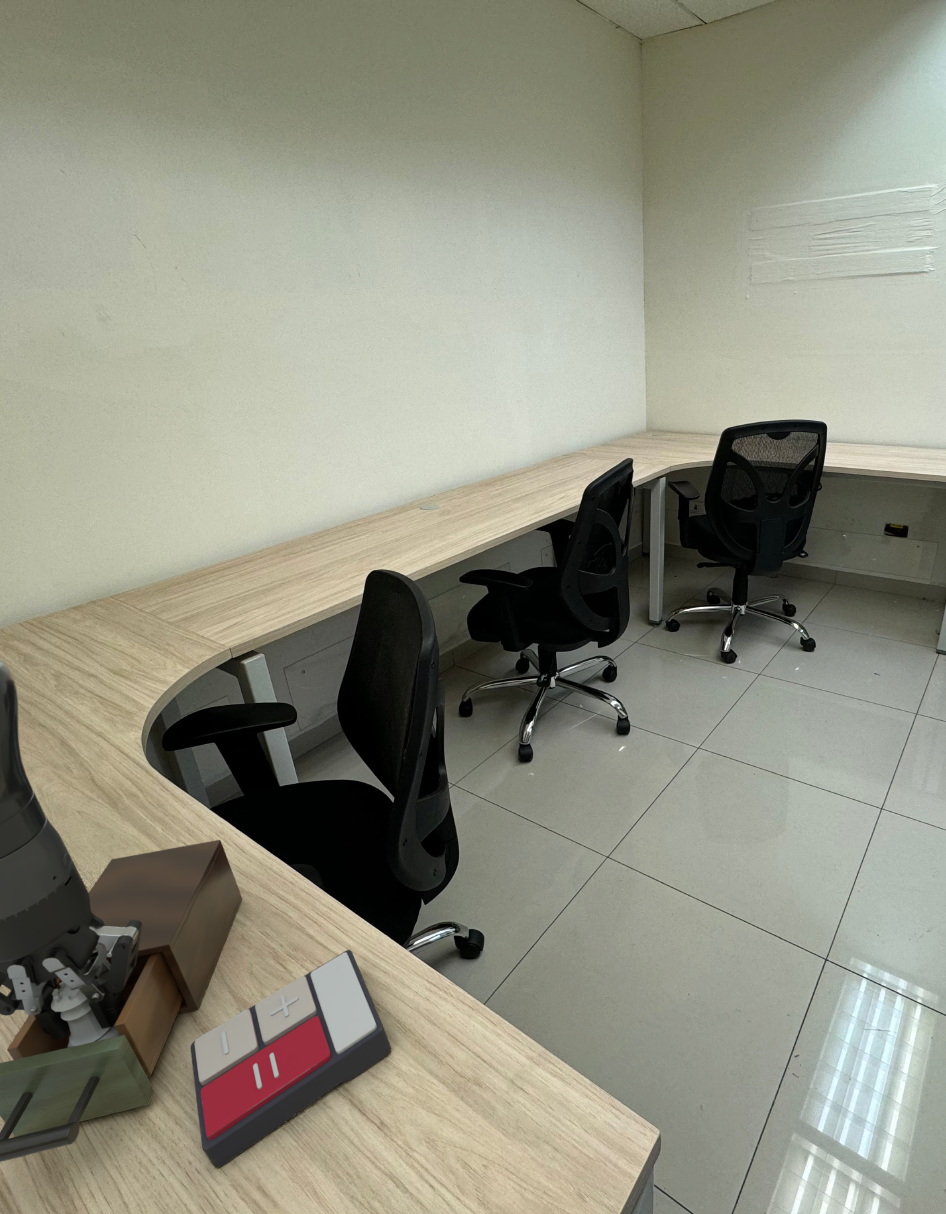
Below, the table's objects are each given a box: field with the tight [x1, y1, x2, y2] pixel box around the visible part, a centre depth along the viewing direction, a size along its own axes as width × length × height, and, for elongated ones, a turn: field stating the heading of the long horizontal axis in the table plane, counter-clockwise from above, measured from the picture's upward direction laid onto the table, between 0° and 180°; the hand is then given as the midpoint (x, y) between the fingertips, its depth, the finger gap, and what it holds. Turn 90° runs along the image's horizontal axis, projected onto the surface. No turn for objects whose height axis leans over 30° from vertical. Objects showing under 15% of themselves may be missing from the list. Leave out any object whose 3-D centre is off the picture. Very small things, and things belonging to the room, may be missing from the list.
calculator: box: [190, 949, 392, 1169], centre depth 59 cm, size 11×4×15 cm
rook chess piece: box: [51, 979, 120, 1048], centre depth 57 cm, size 4×4×8 cm
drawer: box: [0, 952, 184, 1163], centre depth 57 cm, size 18×10×8 cm, turn 13°
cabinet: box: [88, 839, 243, 1016], centre depth 68 cm, size 15×12×10 cm
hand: (89, 1023), depth 57 cm, fingers closed on rook chess piece, 3 cm apart
